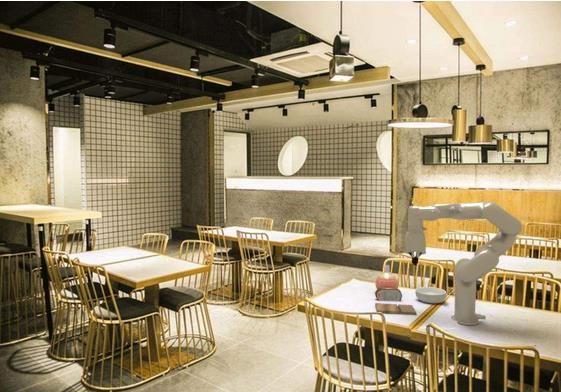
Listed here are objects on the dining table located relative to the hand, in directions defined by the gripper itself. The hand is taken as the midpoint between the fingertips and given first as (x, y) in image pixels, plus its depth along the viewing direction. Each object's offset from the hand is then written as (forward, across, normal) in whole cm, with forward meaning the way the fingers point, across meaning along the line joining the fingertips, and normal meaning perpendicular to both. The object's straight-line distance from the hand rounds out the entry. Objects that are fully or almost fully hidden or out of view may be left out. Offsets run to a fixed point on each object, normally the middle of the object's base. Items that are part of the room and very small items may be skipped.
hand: (414, 264), depth 209 cm
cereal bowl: (+27, -14, -25) cm, 40 cm away
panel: (+26, +13, -4) cm, 29 cm away
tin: (+27, +10, -22) cm, 36 cm away
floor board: (+27, +10, -4) cm, 29 cm away
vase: (+27, +9, -39) cm, 48 cm away
